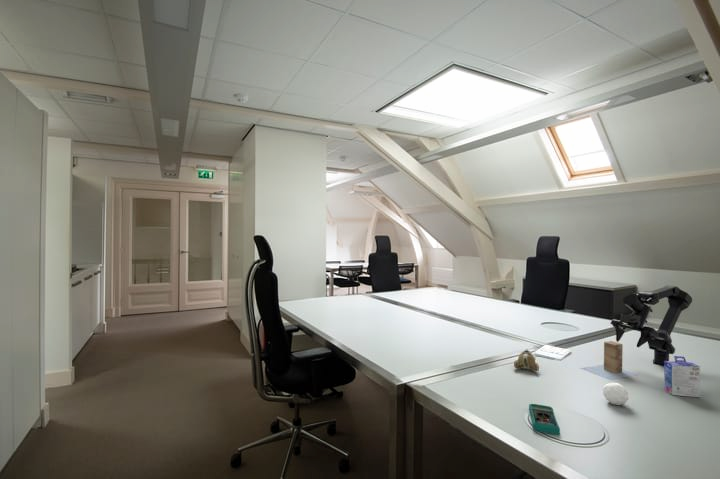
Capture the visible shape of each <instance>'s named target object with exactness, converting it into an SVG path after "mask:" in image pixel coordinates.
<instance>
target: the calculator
mask: <svg viewBox="0 0 720 479" xmlns="http://www.w3.org/2000/svg"><path fill="white" fill-rule="evenodd" d="M571 353H572V350H571V349H567V348H563V347H557V346H553V345H548V344H545V345H543V346H542V347H540V348H539V349H537V350H535V351H534V352H533V353H532V354H533V355H534V356H537V357H542V358H545V359H550V360H557V361H562V360H563V359H565V358H567V357H568V356H570V354H571Z"/></svg>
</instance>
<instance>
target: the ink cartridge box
mask: <svg viewBox="0 0 720 479" xmlns="http://www.w3.org/2000/svg"><path fill="white" fill-rule="evenodd" d="M663 367H664V370H663V371H664V372H663V373H664V391H666V392H667V393H668V394H670V395H671V396H681V397H682V396H683V397H693V398H701V366H700V365H697V364H696V363H693V362H688V361H687V360H686V358H685V356H681V355H680V356H679V355H678V356H677V355H674V361H672V360H669V361H664V365H663Z"/></svg>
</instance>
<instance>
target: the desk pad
mask: <svg viewBox="0 0 720 479" xmlns="http://www.w3.org/2000/svg"><path fill="white" fill-rule="evenodd" d="M581 369H582V370H583V371H586V372H589V373H592V374H593V375H597V376H599V377H602V378H604V379H606V380H610V381H611V380H616V379H621V378H627V377H633V376H638V374H637V373H634V372H631V371H628V370H625V369H623V368H622V372H619V373H612V372H610V371H607V370H604V364H600V365H593V366H586V367H580V370H581Z"/></svg>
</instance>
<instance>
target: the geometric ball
mask: <svg viewBox="0 0 720 479" xmlns="http://www.w3.org/2000/svg"><path fill="white" fill-rule="evenodd" d="M602 394H603V396H604V398H605V400H606V401H607V402H609V403H611V404H612V405H615V406H621V405H622V406H623V405H625V404H626V403H627V402H628V401H629V398H630V397H629V392H628V391H627V389H626V388H625V386H623V385H622V384H620V383H618V382H609V383H607V384H605V385H604V386H603V387H602Z"/></svg>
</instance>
